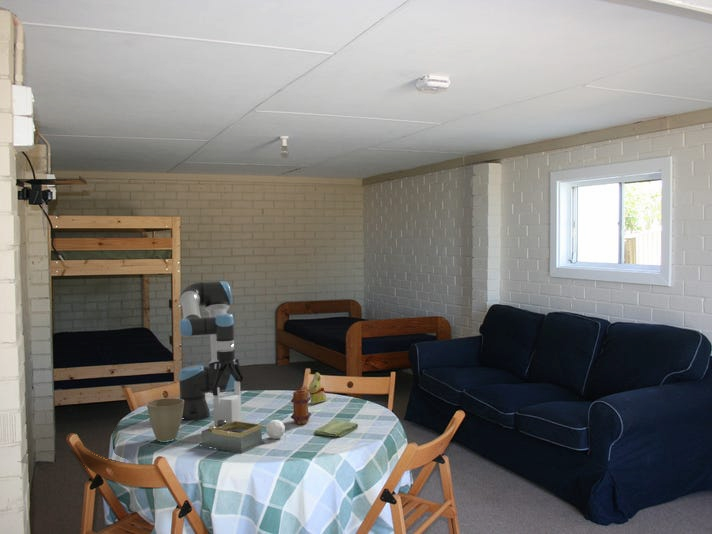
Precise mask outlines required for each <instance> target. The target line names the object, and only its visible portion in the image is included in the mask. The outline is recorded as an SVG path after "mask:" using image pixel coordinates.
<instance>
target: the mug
mask: <svg viewBox="0 0 712 534" xmlns="http://www.w3.org/2000/svg"><path fill="white" fill-rule="evenodd" d="M292 396H293V397H292V398H291V400H290V402H291V403H292V404H293V406H292V407H293V413H292V415H291V416H290V418H291V419H292V420H293V422H294V424H295V425H306V424H307V423H309V421H310V420H309V419H310V418H311V415H312V413H311V412H309V401H311V397H310V394H309V387H307V385H302V386H301V388H300V390H295V391H293V393H292Z"/></svg>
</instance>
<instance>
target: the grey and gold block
mask: <svg viewBox="0 0 712 534" xmlns="http://www.w3.org/2000/svg"><path fill="white" fill-rule="evenodd" d="M262 429H263V424H260V423H255V422H246V421H242V422H240V421H233V422H230V423H228V424H226V420H219V421H217V425H216V426H214V425H209V426H208V428H206V429H204V430H202V431H201V442H200V443H199V444H198V446H199V445H202V446H206V447H212V448H216V449H215V450H218V449H222V450H221V451H224V450H227V451H226V452H230V451H232V452H231V453H236V452H237V453H236V454H244V453H246V452H248V451H251V450H252V449H255V448H257V447H259V446H262V445H264V444H265V443H266V442H265V441H266V440H264V439H262V438H263V437H262V436H263V435H262V433H263V432H262ZM206 447H205V448H206ZM212 448H211V449H212Z"/></svg>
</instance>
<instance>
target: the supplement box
mask: <svg viewBox="0 0 712 534" xmlns="http://www.w3.org/2000/svg"><path fill="white" fill-rule="evenodd" d="M212 403H213V408H212V409H213V426H216V425H217V421H219V420H226V424H228V423H230V422H233V421H240V422H243V419H242V418H243V417H242V395H235V394H221V395H220V403H214V398H213V399H212Z"/></svg>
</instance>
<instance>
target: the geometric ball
mask: <svg viewBox="0 0 712 534" xmlns="http://www.w3.org/2000/svg"><path fill="white" fill-rule="evenodd" d="M265 430H266V431H265V433H266V435H267V437H269V438H270V439H273V440H278V439H280V438H282V437H283V436H284V434H285V430H286V426H285V424H284V423H283V422H282V421H281V420H280V419H272V420H270V421H269V422H268V423H267V424H266V427H265Z"/></svg>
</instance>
